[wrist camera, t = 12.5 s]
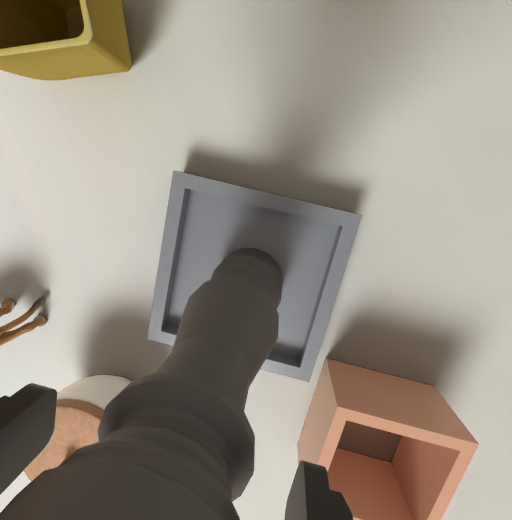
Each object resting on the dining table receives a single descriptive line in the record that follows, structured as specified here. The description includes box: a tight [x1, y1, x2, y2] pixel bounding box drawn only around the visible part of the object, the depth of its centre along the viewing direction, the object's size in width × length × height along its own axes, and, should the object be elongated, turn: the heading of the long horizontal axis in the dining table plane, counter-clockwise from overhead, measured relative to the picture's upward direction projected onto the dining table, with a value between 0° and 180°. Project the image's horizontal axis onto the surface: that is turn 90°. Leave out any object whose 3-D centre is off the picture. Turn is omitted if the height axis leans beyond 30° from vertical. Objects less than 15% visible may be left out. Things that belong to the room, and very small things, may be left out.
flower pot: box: [0, 0, 132, 80], centre depth 21 cm, size 9×9×9 cm
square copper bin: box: [298, 358, 479, 520], centre depth 28 cm, size 11×11×7 cm
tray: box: [147, 170, 362, 382], centre depth 28 cm, size 16×16×2 cm
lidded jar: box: [24, 375, 132, 481], centre depth 29 cm, size 11×11×9 cm
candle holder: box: [0, 248, 283, 520], centre depth 16 cm, size 6×6×25 cm
